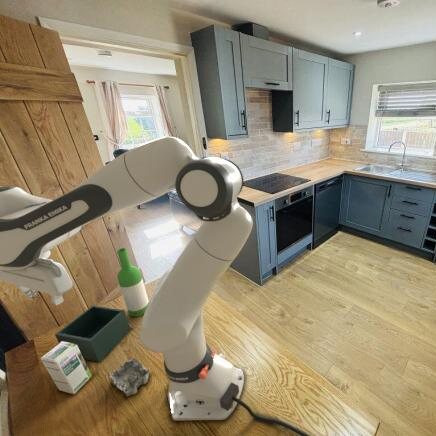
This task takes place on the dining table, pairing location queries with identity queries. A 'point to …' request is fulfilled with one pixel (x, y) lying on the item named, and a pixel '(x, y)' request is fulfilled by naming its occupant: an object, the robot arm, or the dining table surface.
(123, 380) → the grey jagged rectangular tray
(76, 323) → the waste bin
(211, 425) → the dining table surface
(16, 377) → the dining table surface
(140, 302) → the wine bottle
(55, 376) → the syrup box
